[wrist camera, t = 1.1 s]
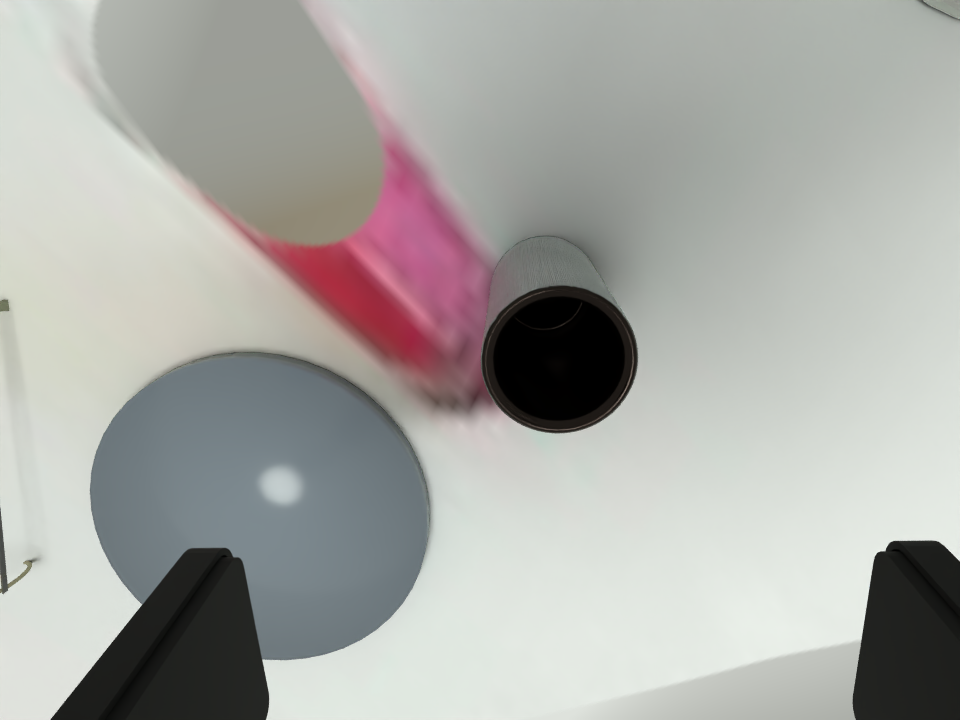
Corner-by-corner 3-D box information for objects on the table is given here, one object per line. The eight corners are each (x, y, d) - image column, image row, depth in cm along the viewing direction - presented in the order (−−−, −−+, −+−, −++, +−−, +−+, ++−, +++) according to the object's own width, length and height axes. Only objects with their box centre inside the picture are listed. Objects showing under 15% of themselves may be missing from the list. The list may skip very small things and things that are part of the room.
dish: (410, 341, 30) (406, 349, 29) (444, 638, 35) (442, 654, 34) (67, 363, 31) (50, 371, 30) (146, 648, 36) (134, 664, 35)
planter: (526, 357, 30) (533, 461, 21) (470, 272, 29) (449, 339, 20) (616, 303, 29) (667, 386, 20) (561, 214, 28) (587, 253, 19)
